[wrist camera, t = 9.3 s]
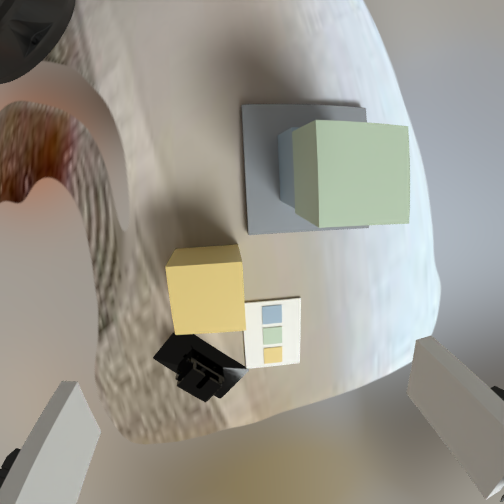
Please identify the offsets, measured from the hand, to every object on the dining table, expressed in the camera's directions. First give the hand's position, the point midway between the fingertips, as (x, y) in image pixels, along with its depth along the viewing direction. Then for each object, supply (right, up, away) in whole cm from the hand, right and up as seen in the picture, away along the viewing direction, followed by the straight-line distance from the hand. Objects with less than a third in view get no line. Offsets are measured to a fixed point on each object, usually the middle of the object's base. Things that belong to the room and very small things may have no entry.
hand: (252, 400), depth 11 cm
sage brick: (+6, +11, +12) cm, 18 cm away
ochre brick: (-4, +3, +21) cm, 21 cm away
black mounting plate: (-6, -7, +24) cm, 25 cm away
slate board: (+5, +13, +19) cm, 23 cm away
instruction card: (+2, -3, +23) cm, 23 cm away
